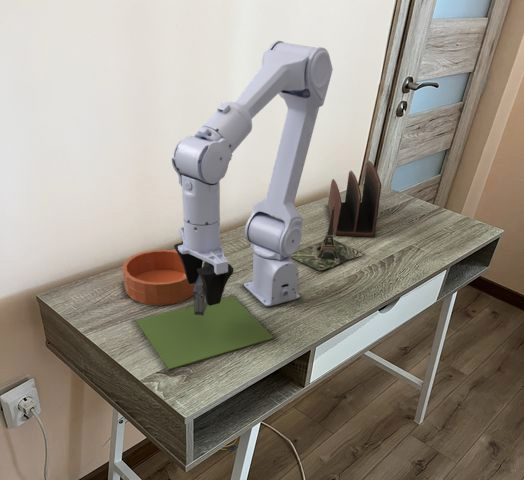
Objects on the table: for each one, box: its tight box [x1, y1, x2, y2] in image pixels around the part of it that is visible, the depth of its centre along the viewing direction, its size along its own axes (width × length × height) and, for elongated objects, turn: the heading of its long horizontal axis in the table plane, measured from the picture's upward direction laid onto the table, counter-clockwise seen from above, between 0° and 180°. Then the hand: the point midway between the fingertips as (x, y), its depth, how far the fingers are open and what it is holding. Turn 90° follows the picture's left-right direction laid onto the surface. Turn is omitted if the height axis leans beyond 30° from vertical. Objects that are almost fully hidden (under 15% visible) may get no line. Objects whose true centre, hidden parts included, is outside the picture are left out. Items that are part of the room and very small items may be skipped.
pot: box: [122, 249, 195, 306], centre depth 106 cm, size 15×15×5 cm
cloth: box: [135, 295, 275, 371], centre depth 96 cm, size 16×20×1 cm
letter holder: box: [327, 160, 382, 238], centre depth 135 cm, size 10×20×14 cm, turn 0°
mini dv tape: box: [193, 261, 210, 315], centre depth 91 cm, size 8×2×6 cm, turn 174°
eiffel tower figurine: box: [291, 205, 364, 271], centre depth 118 cm, size 15×10×13 cm
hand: (203, 292), depth 92 cm, fingers closed on mini dv tape, 7 cm apart
